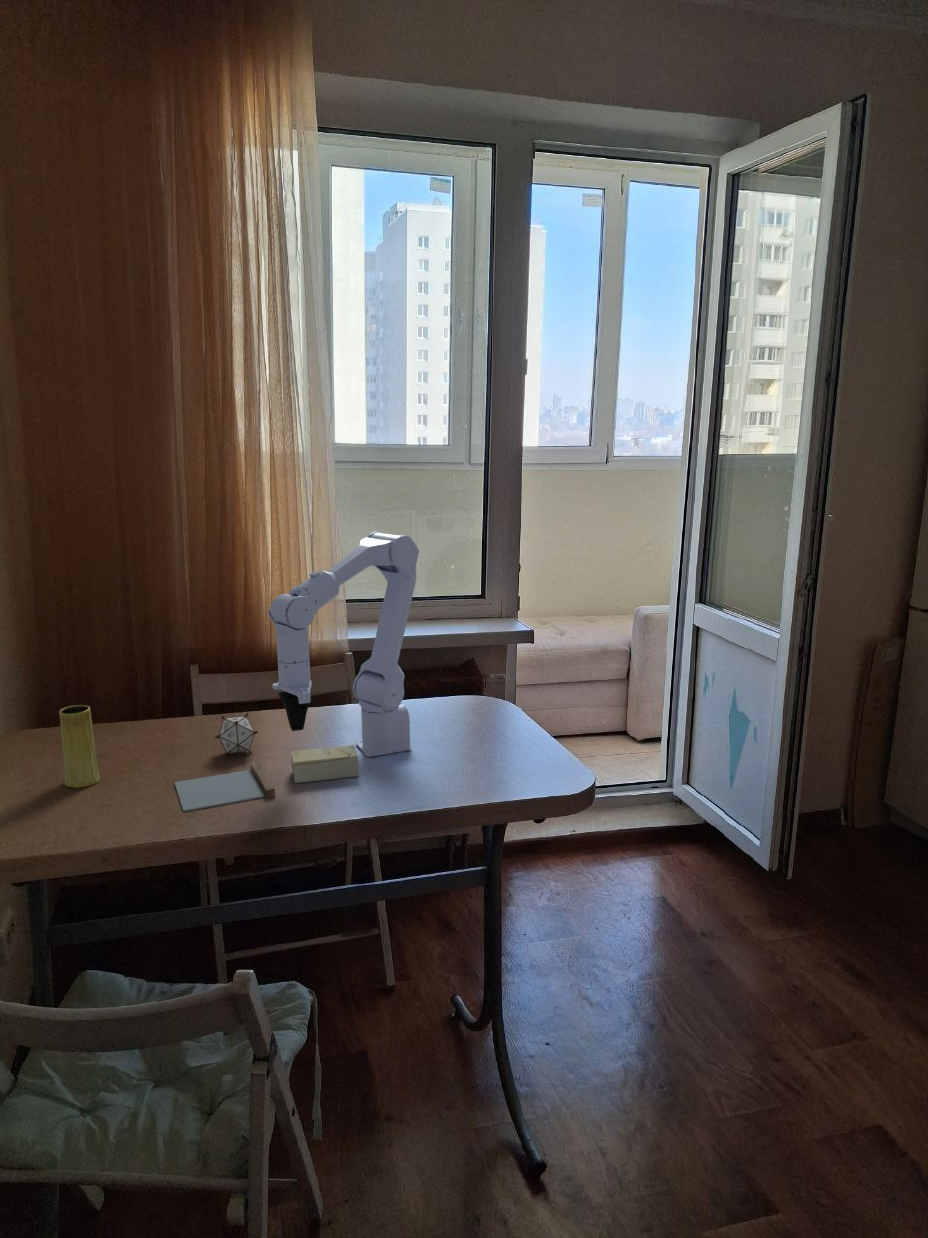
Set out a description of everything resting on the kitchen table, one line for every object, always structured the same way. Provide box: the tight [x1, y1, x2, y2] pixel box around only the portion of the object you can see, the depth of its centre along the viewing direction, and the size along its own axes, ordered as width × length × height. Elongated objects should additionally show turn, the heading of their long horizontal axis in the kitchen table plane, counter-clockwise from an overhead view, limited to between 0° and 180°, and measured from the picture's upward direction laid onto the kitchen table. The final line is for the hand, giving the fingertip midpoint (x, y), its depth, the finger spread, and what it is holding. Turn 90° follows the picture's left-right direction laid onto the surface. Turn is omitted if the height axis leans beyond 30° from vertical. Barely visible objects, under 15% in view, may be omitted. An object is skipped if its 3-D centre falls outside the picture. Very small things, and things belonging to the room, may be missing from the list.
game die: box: [214, 712, 259, 758], centre depth 175 cm, size 9×8×10 cm
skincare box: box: [290, 744, 360, 784], centre depth 165 cm, size 6×4×12 cm
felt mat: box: [174, 769, 266, 813], centre depth 158 cm, size 14×13×1 cm
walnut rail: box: [250, 761, 276, 799], centre depth 161 cm, size 2×14×2 cm, turn 25°
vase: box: [58, 704, 101, 789], centre depth 161 cm, size 6×6×14 cm
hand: (297, 729), depth 162 cm, fingers closed
